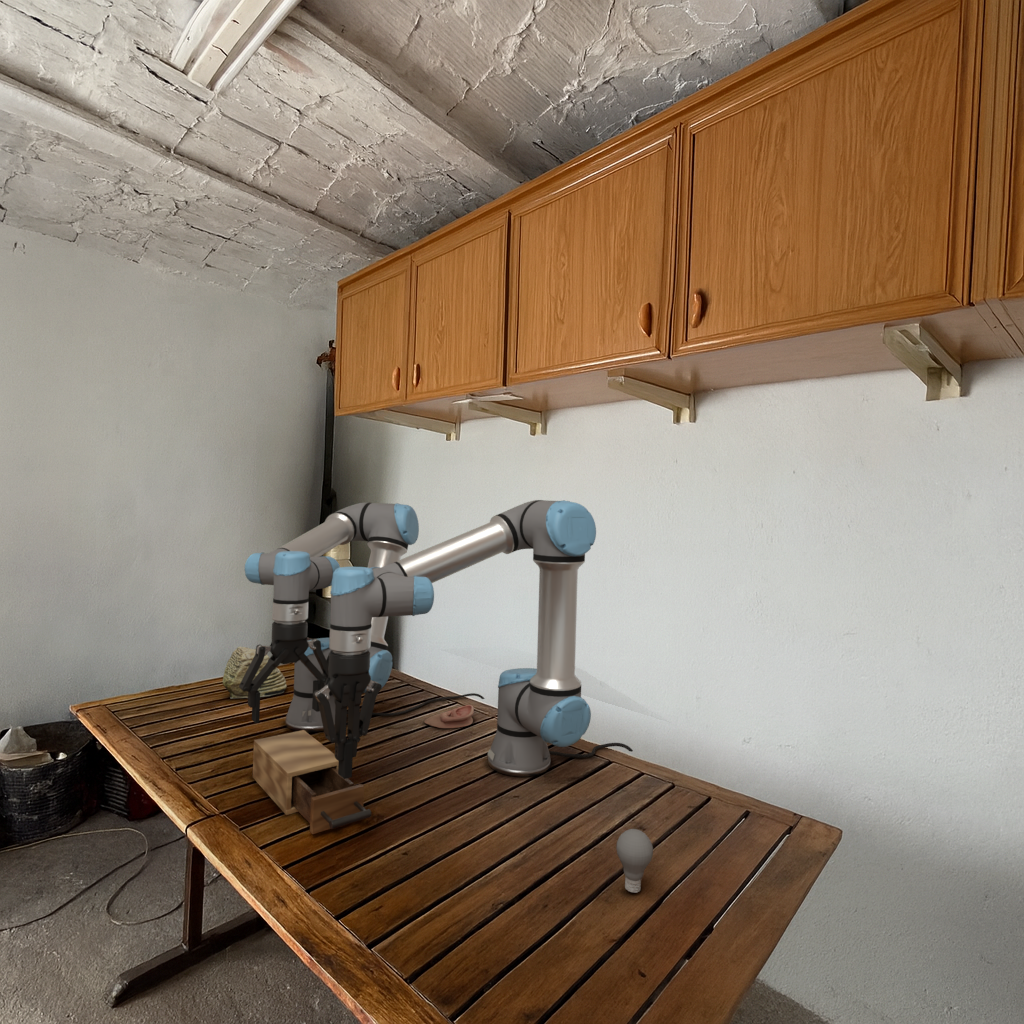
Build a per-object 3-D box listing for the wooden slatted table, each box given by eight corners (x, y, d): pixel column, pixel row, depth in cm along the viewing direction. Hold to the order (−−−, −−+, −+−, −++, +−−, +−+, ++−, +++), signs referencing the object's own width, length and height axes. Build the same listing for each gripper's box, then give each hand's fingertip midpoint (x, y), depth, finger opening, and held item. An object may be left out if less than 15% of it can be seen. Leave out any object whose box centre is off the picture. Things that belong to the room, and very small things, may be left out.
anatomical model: (421, 711, 177) (434, 699, 188) (420, 725, 177) (433, 712, 188) (466, 717, 174) (477, 704, 186) (466, 731, 174) (476, 717, 186)
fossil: (218, 695, 195) (220, 647, 195) (278, 685, 208) (279, 640, 207) (228, 703, 189) (230, 653, 188) (289, 692, 201) (290, 645, 201)
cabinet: (340, 799, 133) (341, 760, 133) (286, 815, 126) (287, 773, 125) (302, 765, 149) (303, 729, 148) (252, 777, 141) (253, 740, 141)
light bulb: (610, 879, 108) (613, 822, 108) (644, 879, 109) (647, 822, 109) (619, 902, 102) (622, 840, 102) (655, 901, 103) (658, 840, 103)
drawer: (376, 831, 119) (378, 797, 119) (324, 848, 113) (326, 812, 113) (322, 782, 138) (323, 752, 138) (275, 794, 132) (276, 763, 132)
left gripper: (236, 629, 130) (233, 731, 131) (349, 618, 146) (346, 710, 147) (226, 623, 136) (222, 721, 137) (335, 613, 152) (332, 701, 153)
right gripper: (324, 659, 111) (319, 792, 112) (390, 650, 119) (385, 774, 120) (308, 650, 117) (303, 776, 117) (372, 642, 125) (367, 760, 126)
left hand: (286, 715), depth 142 cm, fingers open, 13 cm apart
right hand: (344, 775), depth 119 cm, fingers closed
